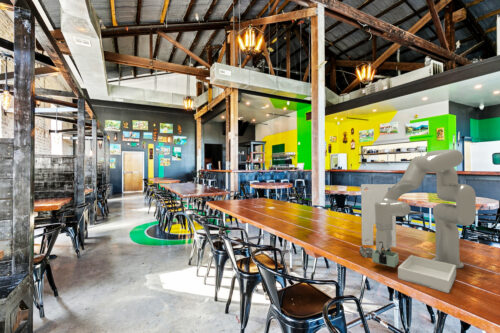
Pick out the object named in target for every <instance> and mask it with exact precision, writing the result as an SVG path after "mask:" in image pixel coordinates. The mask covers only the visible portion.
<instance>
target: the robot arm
mask: <svg viewBox="0 0 500 333" xmlns="http://www.w3.org/2000/svg"><path fill="white" fill-rule="evenodd" d="M463 160H464V155H463V153H462V151H460V150H458V149H440V150H431V151H428V152H427V153H425V155H420V156H419V155H418V156H415V157H413V158H412V159H411V160H410V162H409V164H408V166H407V167H406V169H405V171H404V173H403V175H402V178H401V179H400V180H399V181H398V182H397V183H395V185H394V186H393V187H391V188H388V191H387V193H386V194H385V196H384V198H383V200H382V201H379V202H376V203H375V221H376V224H375V229H376V232H375V250H376V249H378V252H379V263H381V264H380V265H383V264H385V265H384V266H386V264H387V259H386V251H389V252H392V248H393V247H392V242H393V240H392V233H391V231H392V230H393V223H392V216H396V217H406V216H408V215H409V214H410V213H411V205H409V204H408V203H407V202H405V201H401V200H399V199H400V197H401V196H403V195H405V194H406V193H409V192H413V191H415V190H417V189H419V188H420V187H421V184H422V182H423V181H424V178H425V176H426V175H427V174H429V173H430V174H436V196H437V198H438V199H439V200H440V201H441V200H442V201H443V203H442V202H441V203H438V204H435V205H434V206H433V208H432V215H433V219H434V225H435V226H434V227H435V256H434V257H433V258H432V259H431V260H435V261H439V262H444V263H448V264H453V265H456V269H462V268H464V263H463V262H461V261H460V230H459V227H458V226H462V227H463V226H465V227H468V226H471V225H473V224H474V222H475V220H476V211H477V210H476V208H477V207H476V206H477V204H476V203H477V200H476V199H477V196H476V192H475V189H474V188H473V187H472V186H470V185H469V184H465V183H459V182H458V181H459V180H458V172H457V169H455V168H456V167H458V166H460V165H461V164H462V162H463ZM444 201H445V203H444ZM447 202H450V203H447ZM454 203H455V204H454ZM382 251H384V253H383V252H382ZM379 263H378V264H379Z"/></svg>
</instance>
